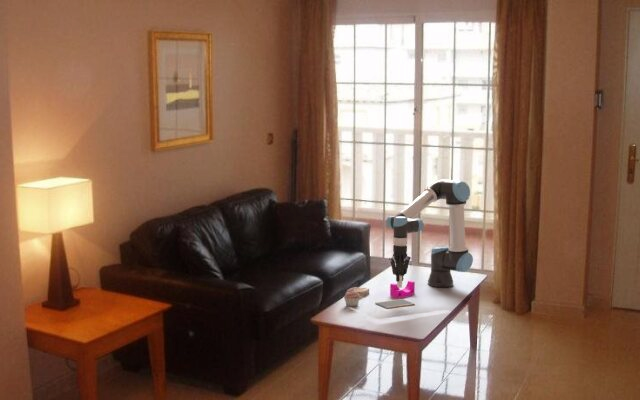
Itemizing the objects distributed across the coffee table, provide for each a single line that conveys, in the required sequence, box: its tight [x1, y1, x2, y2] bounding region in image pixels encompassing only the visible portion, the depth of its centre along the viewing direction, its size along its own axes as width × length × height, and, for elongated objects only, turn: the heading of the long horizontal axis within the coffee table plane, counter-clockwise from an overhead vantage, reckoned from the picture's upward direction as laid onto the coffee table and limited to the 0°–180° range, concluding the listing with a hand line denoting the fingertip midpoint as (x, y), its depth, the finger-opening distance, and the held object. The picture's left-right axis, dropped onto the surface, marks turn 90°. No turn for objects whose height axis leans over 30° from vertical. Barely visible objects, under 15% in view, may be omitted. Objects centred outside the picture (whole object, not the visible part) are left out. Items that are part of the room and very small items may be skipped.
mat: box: [374, 298, 415, 310], centre depth 430 cm, size 18×12×1 cm, turn 117°
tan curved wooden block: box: [346, 286, 370, 299], centre depth 450 cm, size 4×10×9 cm
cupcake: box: [343, 287, 361, 308], centre depth 428 cm, size 9×9×10 cm
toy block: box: [389, 280, 416, 299], centre depth 450 cm, size 15×6×8 cm, turn 123°
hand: (399, 287), depth 430 cm, fingers closed
